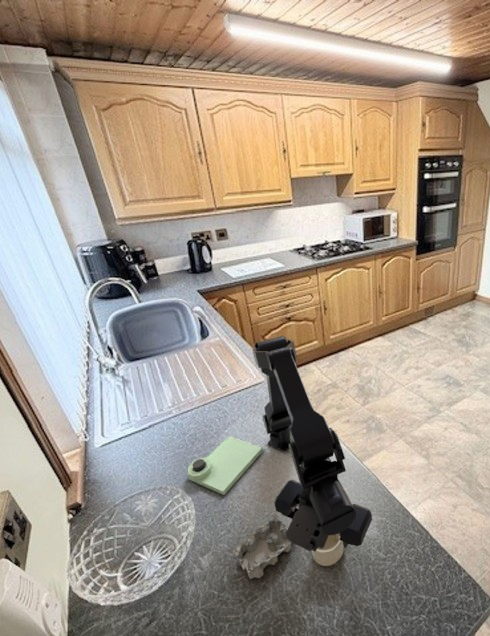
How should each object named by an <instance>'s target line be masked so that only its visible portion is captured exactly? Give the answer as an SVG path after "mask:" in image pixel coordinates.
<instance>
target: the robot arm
mask: <svg viewBox="0 0 490 636" xmlns="http://www.w3.org/2000/svg"><path fill="white" fill-rule="evenodd" d="M251 350H252V355H253V360H254V362H255V364H256V366H257V368H259V369H260V371H261V373H262V374H264V375H266V376H265V377H266V384H267V390H268V391H267V392H268V397H269V398H268V399H269V402H268V403H267V404H266V405H265V406H264V414H263V415H262V418H261V419H262V423H263V425H264V428H265V431H266V434H267V435H269V441H268V442H267V445H268V446H270V447H272V448H274V449H278V450H282V451H284V452H287V451H288V450H289V453H290V456H291V459H292V462H293V465H294V469H295V472H296V475H297V479H298V481H297V480H294V479H290V480H288V481H287V482H286V483H285V484H284V486H283V487H282V488H281V489H280V491H279V493H278V494H277V495H276V496H275V499H274V502H273V503H274V509H275V511H276V512H278V513H280V514H281V515H282V516H285V517H287V518H289V519H291V522H290V523H289V526H288V527H287V528H288V530H287V532H286V537H287V539H289V540H290V541H291V542H292V543H291V544H293V545H296V546H297V547H300V548H301V549H304V550H306V551H309V552H310V551H311V550H313V551H316V550H317V548H318V547H319V548H321V549H322V548H323V547H324V546H325V543H326V541H327V538H328V536H329V535H336V534H338V533H340V539H339V540H341V541H343V546H344V549H347V548H348V545H351V546H355V547H359V546H362V545H363V542H364V539H365V537H366V535H367V532H368V530H369V528H370V525H371V523H372V521H373V513H372V510H371V509H370V508H367V507H364V506H362V505H359V504H356V503H352V501H351V499H350V498H349V496H348V493H347V492H346V490H345V488H344V486H343V484H342V482H341V481H340V479H339V475H340V474H343V473H345V472H346V471H347V470H346V466H345V464H344V460H346V457H345V453H344V451H343V448H342V446H341V442H340V439H339V436H338V433H337V432H335V430H333V427H329V425H328V422H327V420H326V418H325V417H324V416H323V415H322V414H321V413H319V412H317V411H316V410H315V409H314V407H313V405H312V402H311V399H310V397H309V395H308V392H307V390H306V387H305V384H304V382H303V379H302V377H301V374H300V372H299V369H298V367H297V365H296V363H297V358H298V355H297V351H296V346H295V342H294V341H293V340H292V339H291V338H289V339H287V337H286V336H285V335H281V336H277V337H273V338H269V339H265V340H261V341H256V342H254V348H252V349H251ZM333 456H334V457H335V460H333V461H332V459H331V458H333Z"/></svg>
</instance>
